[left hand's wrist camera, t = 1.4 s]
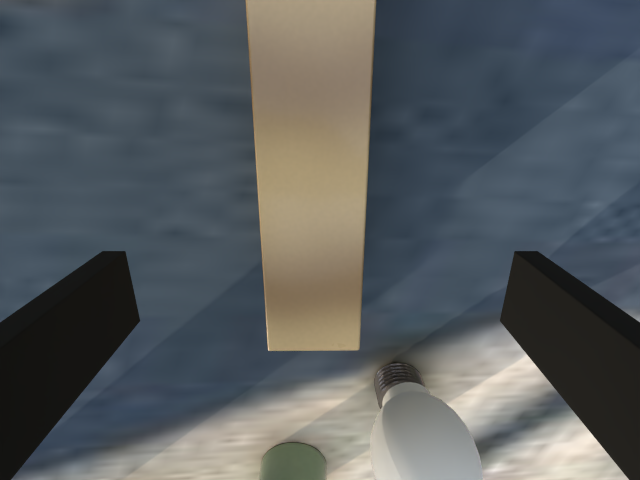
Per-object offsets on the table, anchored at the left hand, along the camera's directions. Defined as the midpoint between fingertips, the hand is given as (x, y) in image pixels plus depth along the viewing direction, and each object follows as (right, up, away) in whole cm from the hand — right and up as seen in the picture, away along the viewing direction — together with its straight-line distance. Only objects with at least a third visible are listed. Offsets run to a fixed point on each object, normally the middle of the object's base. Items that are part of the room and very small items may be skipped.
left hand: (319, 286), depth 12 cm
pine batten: (0, +11, +9) cm, 14 cm away
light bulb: (+7, -10, +17) cm, 21 cm away
